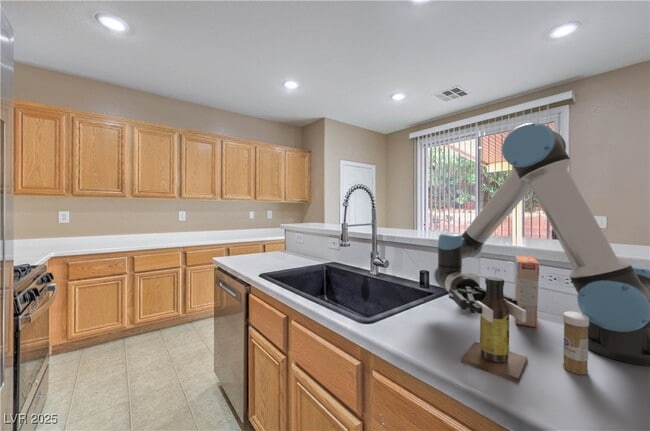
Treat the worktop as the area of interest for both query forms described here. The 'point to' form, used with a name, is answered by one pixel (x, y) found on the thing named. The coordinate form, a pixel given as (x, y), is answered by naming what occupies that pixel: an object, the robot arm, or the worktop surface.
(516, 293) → the cracker box
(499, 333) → the sauce bottle
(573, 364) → the sprinkles bottle
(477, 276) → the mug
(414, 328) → the worktop surface
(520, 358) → the coaster board
